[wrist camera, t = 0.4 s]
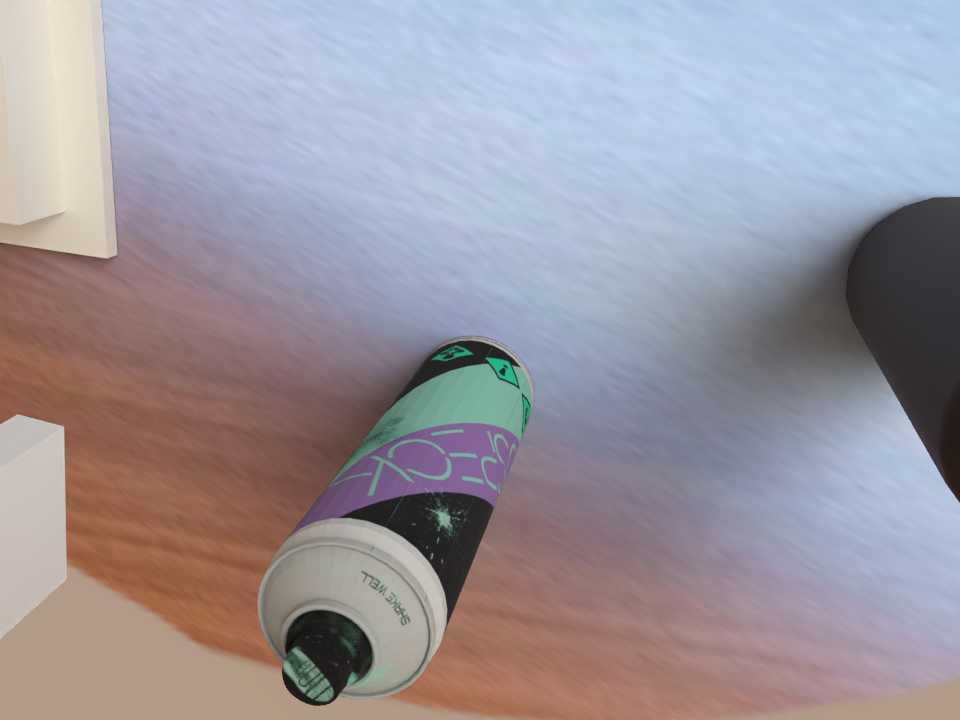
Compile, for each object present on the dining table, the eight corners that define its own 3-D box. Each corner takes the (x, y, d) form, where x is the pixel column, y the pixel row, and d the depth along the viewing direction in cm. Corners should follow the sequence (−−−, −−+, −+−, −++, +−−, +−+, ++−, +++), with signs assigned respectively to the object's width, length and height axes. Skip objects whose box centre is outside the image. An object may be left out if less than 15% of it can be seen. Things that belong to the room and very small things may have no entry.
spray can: (521, 458, 42) (396, 790, 24) (411, 428, 43) (205, 729, 24) (546, 351, 40) (429, 626, 22) (429, 322, 41) (219, 564, 22)
